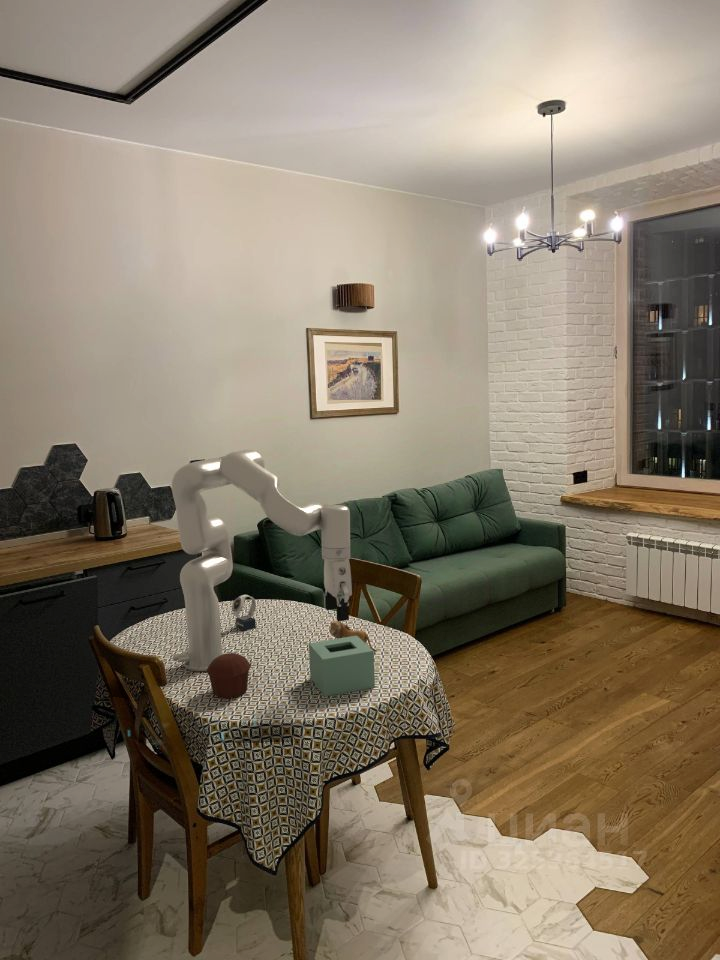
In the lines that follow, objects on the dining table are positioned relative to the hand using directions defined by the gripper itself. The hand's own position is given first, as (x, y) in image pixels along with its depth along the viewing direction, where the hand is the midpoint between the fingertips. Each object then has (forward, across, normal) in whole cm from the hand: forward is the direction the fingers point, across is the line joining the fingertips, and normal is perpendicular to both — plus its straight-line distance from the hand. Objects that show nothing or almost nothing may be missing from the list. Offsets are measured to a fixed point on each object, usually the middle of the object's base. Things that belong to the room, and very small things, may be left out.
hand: (336, 614), depth 193 cm
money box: (+19, -1, -1) cm, 19 cm away
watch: (+21, +56, +14) cm, 61 cm away
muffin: (+20, +6, +28) cm, 35 cm away
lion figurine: (+19, +20, -11) cm, 30 cm away
